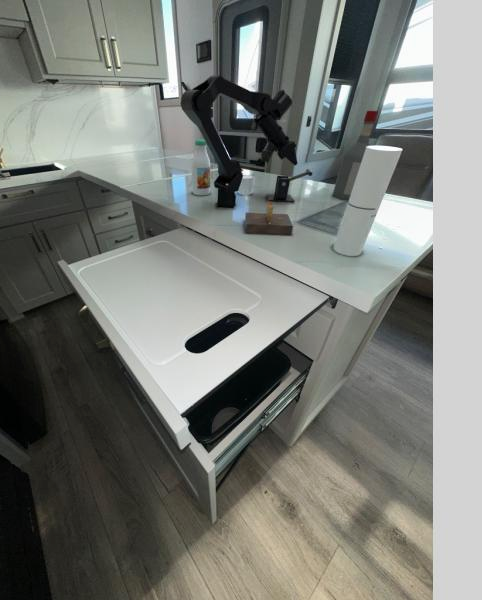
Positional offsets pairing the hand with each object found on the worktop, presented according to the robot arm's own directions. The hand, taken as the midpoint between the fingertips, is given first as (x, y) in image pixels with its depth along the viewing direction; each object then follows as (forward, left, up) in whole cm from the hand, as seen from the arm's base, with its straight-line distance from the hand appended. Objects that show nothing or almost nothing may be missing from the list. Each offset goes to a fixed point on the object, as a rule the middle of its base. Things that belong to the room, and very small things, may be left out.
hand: (296, 164), depth 100 cm
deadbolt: (-12, -30, -10) cm, 34 cm away
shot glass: (-18, +7, -13) cm, 23 cm away
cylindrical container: (+9, -43, -13) cm, 46 cm away
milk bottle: (-37, +6, -13) cm, 40 cm away
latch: (+1, 0, -6) cm, 6 cm away
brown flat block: (-12, -30, -13) cm, 35 cm away
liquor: (+24, +6, -13) cm, 28 cm away
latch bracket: (-4, 0, -13) cm, 14 cm away
